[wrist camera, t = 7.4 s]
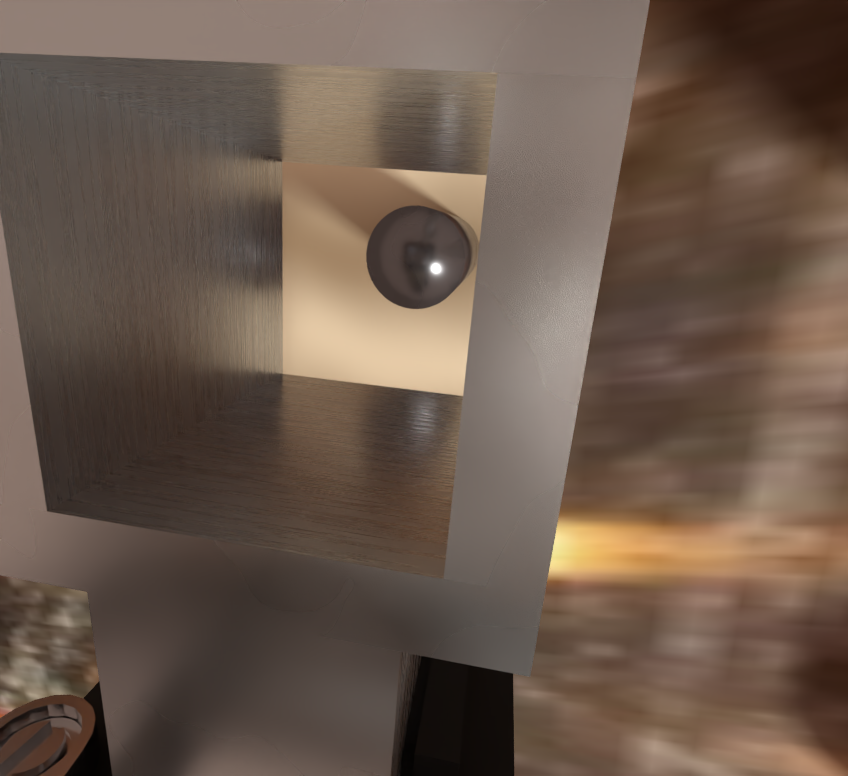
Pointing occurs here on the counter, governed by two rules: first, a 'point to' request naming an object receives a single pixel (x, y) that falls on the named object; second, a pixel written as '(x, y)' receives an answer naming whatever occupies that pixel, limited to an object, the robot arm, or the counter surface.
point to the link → (263, 356)
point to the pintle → (420, 255)
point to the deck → (368, 279)
